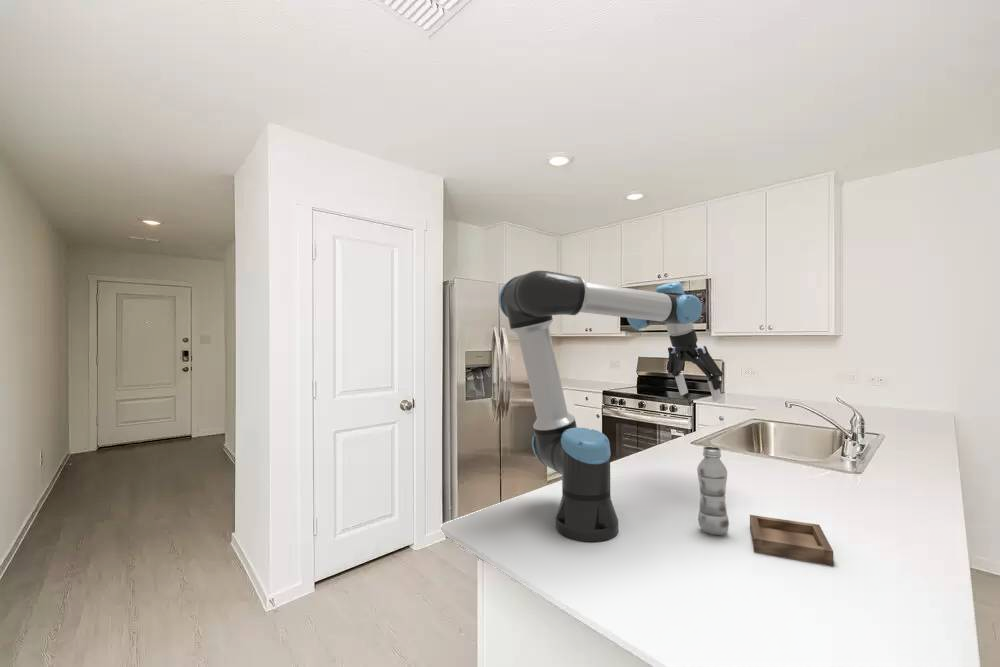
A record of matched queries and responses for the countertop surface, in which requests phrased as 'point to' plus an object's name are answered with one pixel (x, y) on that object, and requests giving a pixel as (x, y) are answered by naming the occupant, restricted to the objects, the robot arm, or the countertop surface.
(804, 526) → the wooden tray
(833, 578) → the countertop surface
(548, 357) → the robot arm
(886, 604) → the countertop surface
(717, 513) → the plastic bottle
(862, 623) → the countertop surface
